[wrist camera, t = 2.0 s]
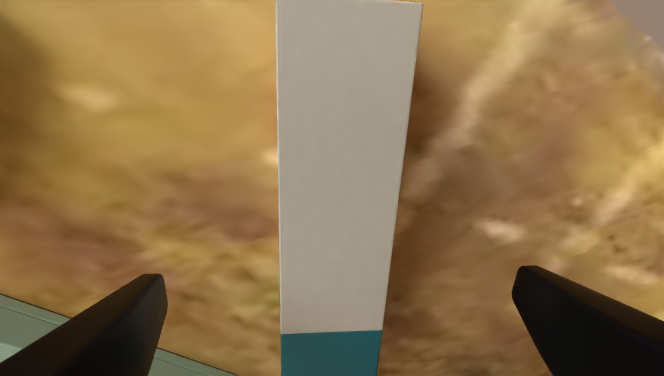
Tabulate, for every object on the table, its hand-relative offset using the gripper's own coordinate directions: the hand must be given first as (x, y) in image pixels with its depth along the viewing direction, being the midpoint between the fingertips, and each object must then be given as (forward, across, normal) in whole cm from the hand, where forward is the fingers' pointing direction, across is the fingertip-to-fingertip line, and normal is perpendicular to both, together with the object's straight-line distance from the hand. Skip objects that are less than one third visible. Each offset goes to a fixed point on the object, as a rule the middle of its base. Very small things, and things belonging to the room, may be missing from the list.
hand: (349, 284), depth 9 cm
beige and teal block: (+6, 0, 0) cm, 6 cm away
